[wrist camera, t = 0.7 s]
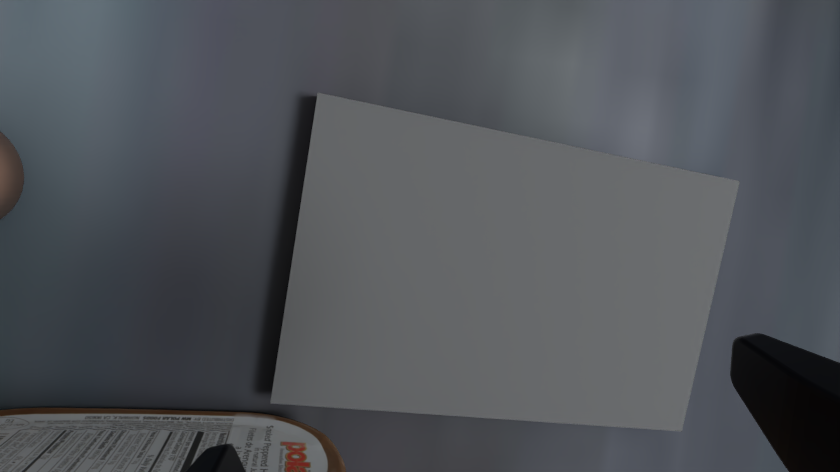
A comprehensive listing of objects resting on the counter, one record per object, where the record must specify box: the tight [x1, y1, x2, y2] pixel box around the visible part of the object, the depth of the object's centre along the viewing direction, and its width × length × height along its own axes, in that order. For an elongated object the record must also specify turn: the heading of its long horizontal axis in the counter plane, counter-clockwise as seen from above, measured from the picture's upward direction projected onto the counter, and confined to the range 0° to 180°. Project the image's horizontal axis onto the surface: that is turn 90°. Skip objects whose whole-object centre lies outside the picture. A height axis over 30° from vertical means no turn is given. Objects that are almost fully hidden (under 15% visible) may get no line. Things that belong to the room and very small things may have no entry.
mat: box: [270, 93, 740, 431], centre depth 22 cm, size 12×19×1 cm, turn 80°
